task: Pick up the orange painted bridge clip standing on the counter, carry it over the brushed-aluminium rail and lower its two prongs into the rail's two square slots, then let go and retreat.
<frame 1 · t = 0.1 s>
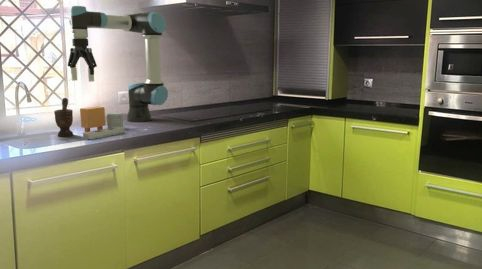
hand: (82, 81, 224), 28 cm above the countertop, fingers open, 13 cm apart
rail: (104, 135, 226), on the countertop
clip: (93, 131, 237), on the countertop
mortar and pestle: (67, 136, 225), on the countertop
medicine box: (115, 129, 246), on the countertop
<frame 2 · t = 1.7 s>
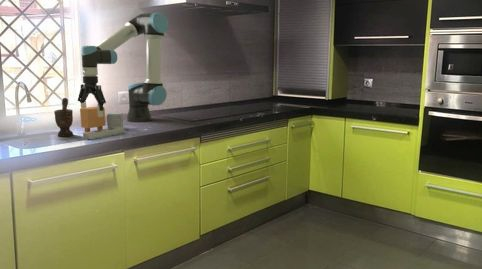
hand: (92, 115, 235), 9 cm above the countertop, fingers open, 13 cm apart
nothing on the countertop moved.
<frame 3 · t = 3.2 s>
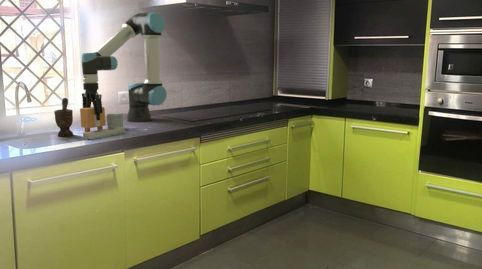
hand: (93, 125, 236), 3 cm above the countertop, fingers closed on clip, 6 cm apart
clip: (93, 131, 237), on the countertop, touching gripper
everything else where it was.
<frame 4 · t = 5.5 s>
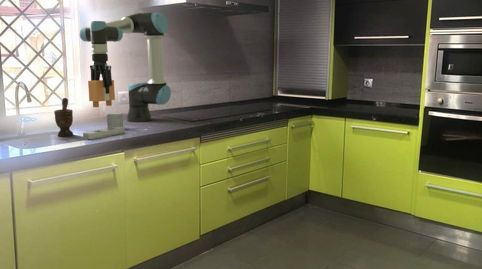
hand: (102, 99, 222), 19 cm above the countertop, fingers closed on clip, 6 cm apart
clip: (102, 106, 223), point 15 cm above the countertop, touching gripper
everything else where it was.
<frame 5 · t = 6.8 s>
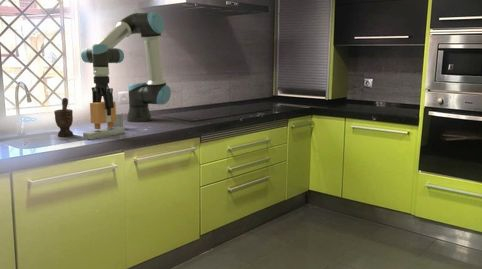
hand: (103, 121, 224), 8 cm above the countertop, fingers closed on clip, 6 cm apart
clip: (104, 127, 225), point 4 cm above the countertop, touching gripper
everything else where it was.
when the fingers open (4 cm above the countertop, at t = 7.7 s): clip stays where it is, resting on rail.
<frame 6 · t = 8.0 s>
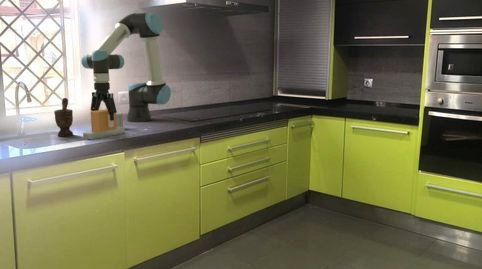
hand: (104, 125, 225), 5 cm above the countertop, fingers open, 10 cm apart
clip: (104, 135, 226), resting on rail
everything else where it was.
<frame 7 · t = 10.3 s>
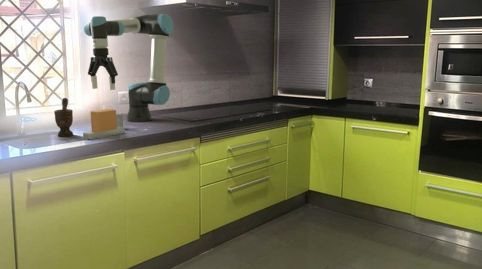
hand: (103, 89, 229), 23 cm above the countertop, fingers open, 13 cm apart
nothing on the countertop moved.
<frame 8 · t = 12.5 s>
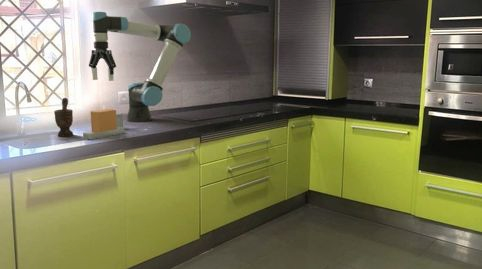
hand: (103, 80, 244), 27 cm above the countertop, fingers open, 13 cm apart
nothing on the countertop moved.
at the end: clip 0.0 cm off-centre on the rail, point 0.0 cm above the rail's base; clip tilted 0°; the gripper is holding nothing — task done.
